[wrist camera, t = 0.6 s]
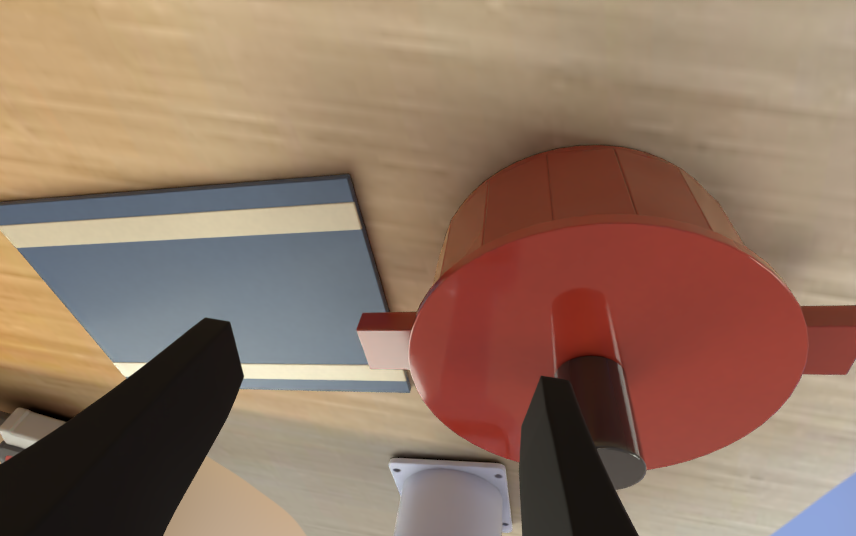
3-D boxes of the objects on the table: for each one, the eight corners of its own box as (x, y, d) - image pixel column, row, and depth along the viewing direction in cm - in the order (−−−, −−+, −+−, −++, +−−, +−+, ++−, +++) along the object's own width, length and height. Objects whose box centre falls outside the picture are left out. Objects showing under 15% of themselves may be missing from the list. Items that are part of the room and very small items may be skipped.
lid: (740, 457, 20) (787, 578, 17) (438, 443, 23) (425, 545, 19) (859, 185, 12) (993, 307, 9) (379, 214, 15) (337, 316, 12)
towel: (411, 387, 28) (409, 393, 28) (137, 382, 32) (133, 387, 32) (349, 173, 20) (346, 178, 19) (-13, 202, 24) (-20, 207, 23)
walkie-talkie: (179, 447, 37) (-86, 370, 36) (145, 505, 34) (-150, 422, 32) (182, 494, 43) (-47, 428, 41) (154, 546, 40) (-97, 478, 38)
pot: (759, 360, 23) (812, 467, 19) (409, 358, 27) (389, 447, 22) (852, 121, 16) (970, 210, 12) (356, 163, 19) (312, 242, 15)
